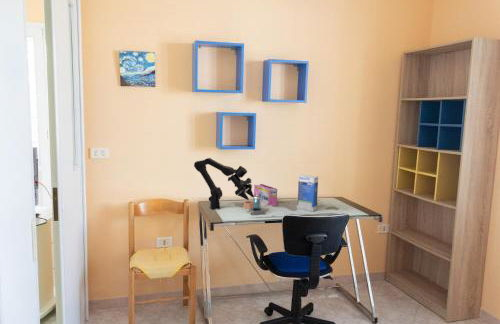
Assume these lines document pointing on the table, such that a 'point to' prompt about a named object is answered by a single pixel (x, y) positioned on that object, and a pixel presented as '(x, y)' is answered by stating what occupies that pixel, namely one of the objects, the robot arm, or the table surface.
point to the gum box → (266, 194)
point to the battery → (256, 203)
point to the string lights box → (307, 192)
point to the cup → (248, 204)
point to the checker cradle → (256, 212)
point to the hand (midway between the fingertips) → (251, 198)
